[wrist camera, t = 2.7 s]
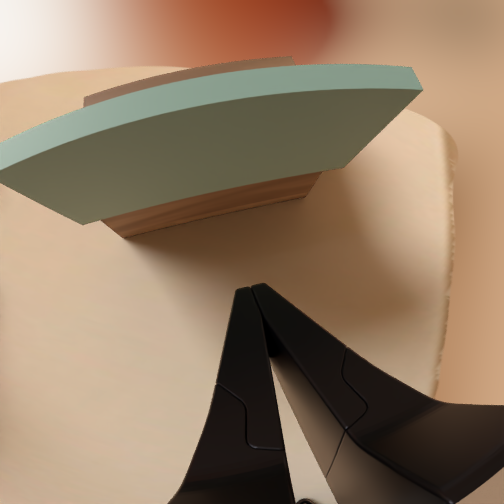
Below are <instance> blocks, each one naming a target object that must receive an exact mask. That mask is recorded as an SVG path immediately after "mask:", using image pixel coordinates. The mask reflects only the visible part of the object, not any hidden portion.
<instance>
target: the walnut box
mask: <svg viewBox="0 0 504 504" xmlns="http://www.w3.org/2000/svg"><path fill="white" fill-rule="evenodd" d="M281 66H296V65H295V63H294V61H293V59H292V57H291V56H288V57H275V58H262V59H252V60H244V61H236V62H229V63H221V64H215V65H210V66H209V65H208V66H203V67H197V68H192V69H186V70H181V71H177V72H172V73H167V74H163V75H159V76H154V77H150V78H146V79H143V80H139V81H135V82H131V83H128V84H124V85H121V86H117V87H114V88H111V89H108V90H104V91H101V92H98V93H95V94H92V95H89V96H86V97H84V107H87V106H90V105H93V104H96V103H99V102H102V101H105V100H109V99H112V98H115V97H119V96H122V95H125V94H129V93H133V92H136V91H140V90H144V89H148V88H152V87H156V86H160V85H164V84H169V83H173V82H178V81H183V80H188V79H193V78H198V77H203V76H209V75H215V74H221V73H228V72H235V71H243V70H251V69H260V68H270V67H281ZM84 107H83V108H84ZM321 173H322V171H320V172H314V173H308V174H303V175H297V176H291V177H286V178H280V179H275V180H269V181H264V182H259V183H254V184H249V185H244V186H239V187H234V188H230V189H225V190H220V191H215V192H211V193H206V194H202V195H197V196H193V197H189V198H184V199H180V200H176V201H172V202H168V203H164V204H160V205H155V206H151V207H148V208H144V209H140V210H136V211H132V212H128V213H124V214H121V215H117V216H113V217H110V218H106V219H103V220H101V221H102V222H103V223H105V224H106V225H107V226H108V227H110V228H111V229H112V230H113V231H114V232H116V233H117V234H118V235H119V236H121V237H122V238H125V237H129V236H133V235H137V234H141V233H145V232H149V231H153V230H157V229H162V228H166V227H170V226H174V225H178V224H182V223H187V222H191V221H195V220H200V219H204V218H208V217H213V216H217V215H222V214H226V213H231V212H235V211H240V210H244V209H249V208H254V207H259V206H263V205H268V204H273V203H278V202H283V201H288V200H293V199H298V198H303V197H306V195H307V194H308V192H309V191H310V189H311V188H312V186H313V185H314V183H315V182H316V180H317V179H318V177H319V176H320V174H321Z"/></svg>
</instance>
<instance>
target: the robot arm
mask: <svg viewBox="0 0 504 504" xmlns="http://www.w3.org/2000/svg"><path fill="white" fill-rule="evenodd" d="M270 363H271V364H270ZM271 365H272V367H273V370H274V372H275V374H276V376H277V378H278V380H279V383H280V385H281V387H282V389H283V391H284V393H285V395H286V398H287V400H288V402H289V404H290V406H291V408H292V410H293V413H294V415H295V417H296V419H297V421H298V423H299V425H300V427H301V429H302V431H303V434H304V436H305V438H306V440H307V442H308V444H309V446H310V448H311V450H312V452H313V454H314V456H315V458H316V460H317V462H318V465H319V467H320V469H321V471H322V473H323V475H324V477H325V478H326V481H327V483H328V485H329V487H330V489H331V491H332V493H333V495H334V497H335V499H336V501H337V503H338V504H504V405H472V404H454V403H446V402H441V401H438V400H435V399H433V398H430V397H428V396H426V395H424V394H422V393H421V392H419V391H417V390H415V389H413V388H412V387H410V386H408V385H406V384H405V383H403V382H401V381H399V380H397V379H396V378H394V377H392V376H390V375H389V374H387V373H385V372H384V371H382V370H380V369H379V368H377V367H376V366H374V365H372V364H371V363H370V362H368V361H367V360H365V359H364V358H362V357H361V356H360V355H358V354H357V353H356V352H354V351H353V350H352V349H350V348H349V347H347V346H346V345H345V344H344V343H342V342H341V341H340V340H338V339H337V338H336V337H334V336H333V335H332V334H330V333H329V332H328V331H327V330H325V329H324V328H323V327H321V326H320V325H319V324H317V323H316V322H315V321H313V320H312V319H311V318H310V317H308V316H307V315H306V314H304V313H303V312H302V311H300V310H299V309H298V308H297V307H295V306H294V305H293V304H291V303H290V302H289V301H288V300H286V299H285V298H284V297H282V296H281V295H280V294H278V293H277V292H276V291H275V290H273V289H272V288H271V287H269V286H268V285H267V284H266V283H260V284H256V285H252V286H251V288H250V287H244V288H239V289H237V290H236V291H235V295H234V299H233V304H232V308H231V313H230V318H229V322H228V327H227V332H226V336H225V341H224V346H223V351H222V355H221V360H220V365H219V369H218V374H217V379H216V385H215V388H214V392H213V397H212V401H211V405H210V409H209V413H208V416H207V419H206V422H205V425H204V428H203V431H202V434H201V437H200V439H199V442H198V445H197V447H196V450H195V453H194V455H193V458H192V460H191V463H190V466H189V468H188V471H187V473H186V476H185V478H184V480H183V482H182V484H181V486H180V488H179V489H178V491H177V492H176V494H175V495H174V496H173V498H172V499H171V500H170V501H169V502H168V504H304V503H306V504H315V503H313V502H312V501H310V500H309V499H301V500H299V501H298V502H297V503H296V502H295V497H294V493H293V488H292V483H291V478H290V473H289V468H288V462H287V457H286V452H285V445H284V439H283V434H282V428H281V422H280V416H279V410H278V405H277V399H276V393H275V387H274V381H273V376H272V370H271Z"/></svg>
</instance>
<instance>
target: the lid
mask: <svg viewBox="0 0 504 504" xmlns="http://www.w3.org/2000/svg"><path fill="white" fill-rule="evenodd" d="M422 91H423V88H422V86H421V85H420V82H419V80H418V78H417V77H416V75H415V73H414V71H413V69H412V67H402V66H389V65H367V64H321V65H320V64H317V65H297V66H281V67H270V68H260V69H251V70H243V71H235V72H228V73H221V74H215V75H209V76H203V77H198V78H193V79H188V80H183V81H178V82H173V83H169V84H164V85H160V86H156V87H152V88H148V89H144V90H140V91H136V92H133V93H129V94H125V95H122V96H119V97H115V98H112V99H109V100H105V101H102V102H99V103H96V104H93V105H90V106H87V107H84V108H81V109H79V110H76V111H73V112H70V113H68V114H65V115H62V116H60V117H57V118H55V119H52V120H50V121H47V122H45V123H43V124H40V125H38V126H36V127H33V128H31V129H29V130H26V131H24V132H22V133H20V134H18V135H16V136H13V137H11V138H9V139H7V140H5V141H3V142H1V143H0V183H2V184H3V185H5V186H7V187H9V188H11V189H13V190H15V191H16V192H18V193H20V194H22V195H24V196H26V197H28V198H30V199H32V200H34V201H36V202H38V203H39V204H41V205H43V206H45V207H47V208H49V209H51V210H53V211H55V212H57V213H59V214H61V215H63V216H65V217H67V218H69V219H71V220H73V221H75V222H77V223H79V224H81V225H85V224H88V223H92V222H95V221H99V220H103V219H106V218H110V217H113V216H117V215H121V214H124V213H128V212H132V211H136V210H140V209H144V208H148V207H151V206H155V205H160V204H164V203H168V202H172V201H176V200H180V199H184V198H189V197H193V196H197V195H202V194H206V193H211V192H215V191H220V190H225V189H230V188H234V187H239V186H244V185H249V184H254V183H259V182H264V181H269V180H275V179H280V178H286V177H291V176H297V175H303V174H308V173H314V172H320V171H327V170H333V169H339V168H344V167H345V166H346V165H347V164H348V163H349V162H350V161H351V160H352V159H353V158H354V157H355V156H356V155H357V154H358V153H359V152H360V151H361V150H362V149H363V148H364V147H365V146H366V145H367V144H368V143H369V142H370V141H371V140H373V139H374V138H375V137H376V136H377V135H378V134H379V133H380V132H381V131H382V130H383V129H384V128H385V127H386V126H387V125H388V124H389V123H390V122H391V121H392V120H393V119H394V118H395V117H396V116H397V115H398V114H399V113H400V112H401V111H402V110H403V109H404V108H405V107H406V106H407V105H408V104H409V103H410V102H411V101H412V100H413V99H415V97H417V95H419V94H420V92H422Z"/></svg>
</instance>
